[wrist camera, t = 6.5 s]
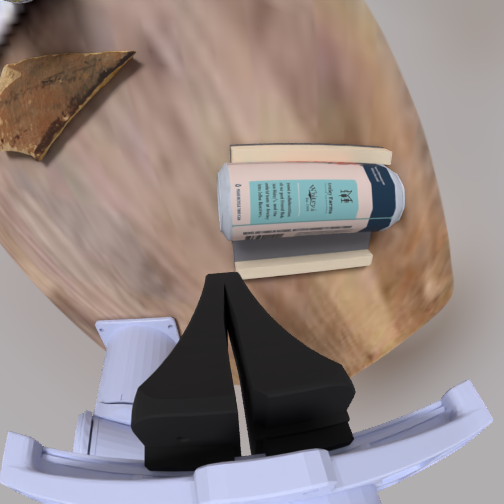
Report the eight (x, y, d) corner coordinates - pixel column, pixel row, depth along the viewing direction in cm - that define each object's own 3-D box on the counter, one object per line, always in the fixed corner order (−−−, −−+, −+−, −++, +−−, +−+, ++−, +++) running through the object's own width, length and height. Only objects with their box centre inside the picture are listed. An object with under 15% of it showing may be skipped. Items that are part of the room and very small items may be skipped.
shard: (141, 53, 15) (135, 50, 13) (125, 160, 19) (119, 167, 17) (11, 62, 12) (-2, 63, 11) (6, 156, 16) (-6, 163, 14)
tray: (363, 255, 26) (370, 265, 24) (234, 268, 24) (236, 279, 23) (381, 147, 20) (392, 152, 19) (229, 145, 19) (232, 149, 18)
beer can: (217, 210, 21) (367, 204, 23) (222, 258, 18) (394, 244, 19) (215, 150, 18) (382, 152, 19) (220, 190, 14) (417, 188, 16)
